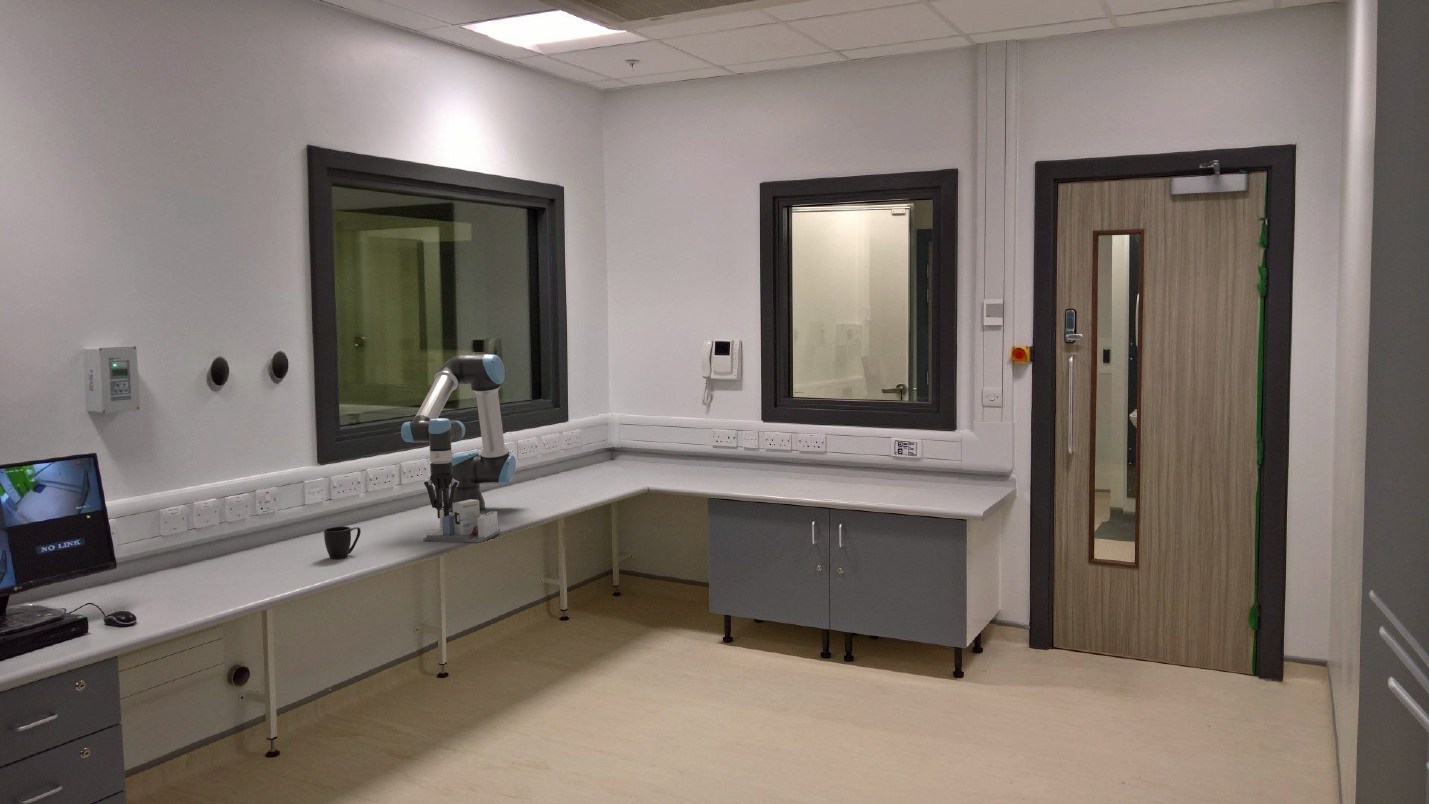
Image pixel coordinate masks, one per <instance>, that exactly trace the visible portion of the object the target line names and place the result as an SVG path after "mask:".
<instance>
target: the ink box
mask: <svg viewBox="0 0 1429 804" xmlns="http://www.w3.org/2000/svg"><path fill="white" fill-rule="evenodd" d="M480 511H481V510H480V508H479V500H472V499H470V500H465V501H460V502H455V503H453V512H452V513H453V525H454V535H470V534H475V533H478V521H477V518H478V517H480V516H481V515H480V514H481V513H480Z"/></svg>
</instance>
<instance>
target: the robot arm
mask: <svg viewBox="0 0 1429 804" xmlns="http://www.w3.org/2000/svg"><path fill="white" fill-rule="evenodd" d="M505 375H506V371H505V366H504V362H503V361H502V359H501V358H500V357H499V356H498V355H496V354H488V353H482V354H481V353H479V354H458V355H455V356H453V357H452V358H450V359H448V360H447V361H445V363H443V364H442V365H441V366H440V367H439V368H438V370H437V371H436V373H435V375H434V377H433V380H434V382H433V383H432V385H431V387H430V390H429V391H428V392H427V394H426V397H425V398H424V399H423V402H422V404H421V405H420V406H419V409H418V410H417V413H416V415H415V417H413V420H412V421H405V422H403V423H402V425H401V429H400V434H401V435H400V436H401V438H402V440H403V441H404V442H406V443H413V444H414V443H429V461H430V462H431V463H430V464H429V466H430V476H429V479H427V481H424V482H423V484H424V486H425V488H426V491H427V493H428V498H429V501H430V505H431V507H432V509H436V510H437V511H436V512H437V519H439V521H440V522H439V527H440V529H443V524H442V517H445V516H447V515H449V514H450V512H451V513H453V503H455V502H460V501H465V500H470V499H472V500H479V508H480V511H481V510H484V509H485V508H486V501H485V499H484V496H483V494H482V490H481V485H483V484H488V485H489V484H493V485H494V484H495V485H497V484H498V485H502V484H509V483H510V482H512V480H513V478H514V476H515V474H516V467H517V461H516V460H517V459H516V457H515V455H513V454H510V450H509V448H508V447H506V446H505V439H504V430H503V422H502V414H501V405H500V398H499V390H500V388H501V387H502V384H503V383H504V382H505V378H506V376H505ZM460 385H470V387H471V388H470V389H471V391H472V392H473V393H475V396H476V405H477V411H478V419H479V426H480V428H479V429H480V435H481V443H482V450H481V451H480V452H479V451H468V452H463V453H457V454H453V455H452V443H454V442H456V443H457V442H459V441H460V440H461V439H463V438H464V437H465V435H466V427H465V425H464V423H463V422H461V421H460V420H450V419H449V418H444V417H443V418H441V417H440V414H441V412H442V411H443V409H444V407H445V405H446V403H447V401H448V399H449V398H450V396H451V394H452V392H453V391H455V390H457V388H458V386H460ZM439 417H440V418H439ZM433 485H434V486H433Z"/></svg>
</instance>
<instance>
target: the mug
mask: <svg viewBox="0 0 1429 804" xmlns="http://www.w3.org/2000/svg"><path fill="white" fill-rule="evenodd" d="M353 530H356V531H357V533H356V536H355V539H354V541H353V543H352V545H351V542H352V531H353ZM360 535H361V528H360V527H359V526H358V527H357V526H356V527H349V526H333V527H328V528H325V529H324V530H323V538H324V540H323V541H324V545H325V548H326V552H327V555H328V557H329V559H331V560H342V559H346V558H348V556H349V555H350V554H351V553H352V552H353V550H354V549H355V547H356V545H357V542H358V541H359V538H360Z"/></svg>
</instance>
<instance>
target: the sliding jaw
mask: <svg viewBox="0 0 1429 804" xmlns="http://www.w3.org/2000/svg"><path fill="white" fill-rule="evenodd" d="M442 524H443V528H442V529H443V535H454V525H453V512H451V513H449V515H447V516H445V517H442Z"/></svg>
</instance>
